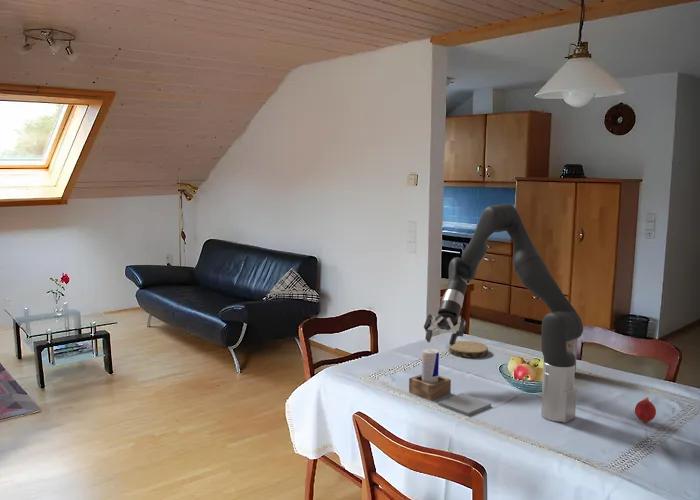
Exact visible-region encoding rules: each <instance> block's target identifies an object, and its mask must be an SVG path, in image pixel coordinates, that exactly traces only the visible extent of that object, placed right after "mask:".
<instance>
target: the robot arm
mask: <svg viewBox="0 0 700 500" xmlns="http://www.w3.org/2000/svg"><path fill="white" fill-rule="evenodd" d="M501 232H506V233H507V234H508V235H509V237H510V239H511V241H512V244H513V254H512V266H513V269H514V271H515V273H516V274H517V276H518V278H519V280H520V281H521V283H522V284H523V286H524V287H525V288H526V289H527V290H528V291H530V292H531V293H532V294H534V295H535V296H536V297H537V298H538V299H540V300H541V301H542V302H543V303H544V304H545V305H546V306H547V308H548V310H550V312H549V313H547V314H545V315H544V317H543V319H542V322H541V327H540V328H541V329H540V331H541V342H540V344H541V346H540V347H541V352H542V356H543V364H542V365H543V366H542V367H543V369H542V386H541V387H542V388H541V407H540V414H541V416H542V418H544V419H546V420H549V421H551V422H560V423H563V424H565V423H568V422H570V421H572V420H573V419H574V420H575V419H576V406H577V393H578V392H577V391H578V390H577V388H576V387H575V373H576V372H575V355H574V354H573V353H571V352H568V351H567V349H566V341H569V340H574V339H577V338H578V339H579V338H580V337H582V335H583V333H584V332H583V331H584V324H583V321H582V319H581V316H580V315H579V313H578V311H576V309H575V307H574V306H573V305H572V303H571V302H570V301H569V300H568V299H567V297H566V296H565V294H564V292H563V291H562V290H561V288H560V286H559V285H558V283H557V282H556V279H554V277H553V275H552V274H551V272H550V270H549V268H548V266H547V264H546V262H545V261H544V260H543V258H542V256H541V255H540V253H539V251H538V249H537V248H536V246H535V245H534V243H533V241H532V240H531V237H530V236H529V233H528V232H527V230H526V227H525V225H524V223H523V221H522V219H521V216H520V214H519V213H518V210H517V209H516V207H514V205H512V204H510V203H501V204H494V205H489V206H487V207H486V208H485V209H484V210H483V212H482V213H481V215H480V218H479V220H478V222H477V225H476V227H475V230H474V233H473V235H472V238H471V240H470V241H469V243H468V244H467V245H466V247H465V249H464V250H463V252H462V254H461V257H457V256H456V257H453V258H452V259H451V260H450V262H449V265H448V283H447V287H446V289H445V293H444V294H443V296H442V299H441V302H440V305H439V309H438V310H437V311H438V312H437V315H436V316H434V315H432V314H431V313H429V314H428V316H427V318H426V319H425V322H424V324H423V329H424V331H425V332H426V335H425V340H426V342H427V343H431V340H432V337H433V333H434V332H437V331H439V329H440V330H445V331H449V330H451V332H452V334H451V336H450V340H449V345H450V346H453V345H454V344H455V342H457V338H458V337H464V334H465V330H466V329H465V328H466V324H467V322H466V319H465V318H461V319H459V318H460V315H461V311H462V308H463V305H464V304H463V303H464V298H465V296H466V295H465V294H466V291H467V287H468V285H467V283H466V282H470V281H472V280H474V278H476V275H477V272H478V268H479V267H478V266H479V264H480V262H481V261H482V260H483V259H484V257H485V255H486V254H487V251H488V248H489V246H488V239H489V237H490V236H492V234H494V233H501ZM458 325H459V328H458V330H456V328H455V327H456V326H458Z"/></svg>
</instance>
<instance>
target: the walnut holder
mask: <svg viewBox="0 0 700 500" xmlns="http://www.w3.org/2000/svg"><path fill="white" fill-rule="evenodd" d="M408 379H409V380H408V393H410V394H412V395H415V396H418V397H420V398H423V399H426V400H428V401H434V400H437V399H439V398H441V397H445V396H447V395H450V394H451V391H452V388H451V387H452V386H451V385H452V380H451V379H450V378H447V377H445V376H441V375H439V374H438V382H436V383H433V384H429V383H426V382H423V381H422V373H421V374H418V375H415V376H412V377H409V378H408Z"/></svg>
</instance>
